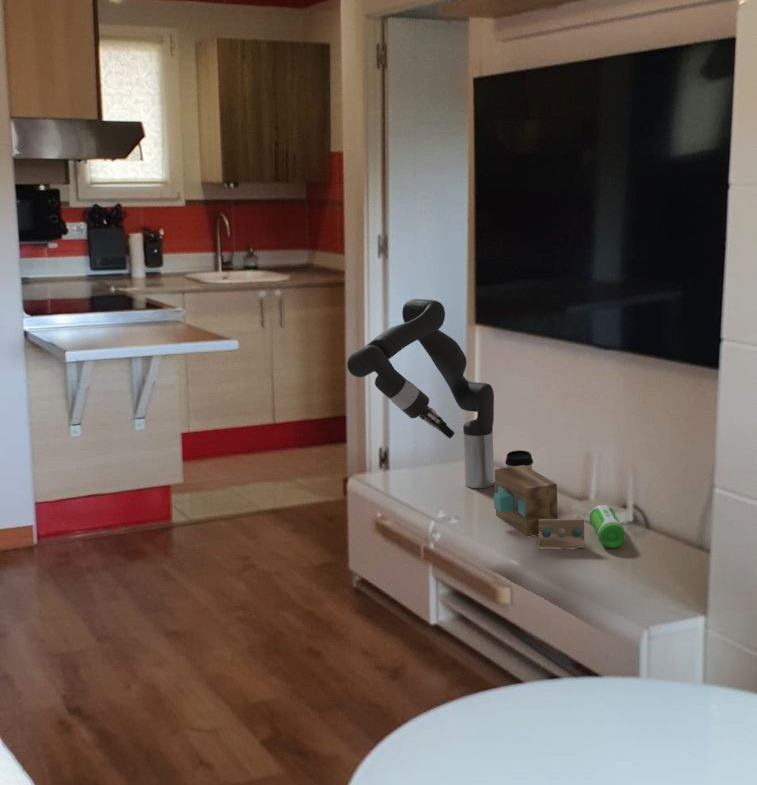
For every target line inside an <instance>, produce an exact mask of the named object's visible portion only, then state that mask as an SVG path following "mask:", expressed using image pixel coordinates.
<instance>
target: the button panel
mask: <svg viewBox="0 0 757 785" xmlns="http://www.w3.org/2000/svg"><path fill="white" fill-rule="evenodd" d="M497 485H499V486H501V487H502V488H503V491H504V492H506V491H509V492H510V493H512V494H513V495H514V510H513V511H507V512H499V511H498V510H496V509H495V516H497V517H498V518H499V519H500V520H502V521H504V523H506V524H508V526H511V527H512V528H514V529H515V530H517V531H518V532H519V533H520V532H521V534H522V535H523V534H524V535H523V536H524V537H526V536H531V537H533V536H532V535H536V536H539V535H538V534H539V519H559V518H558V516H559V515H558V483H556V482H554V481H552V480H551V479H549V478H548V477H546V476H545V475H543V474H540V473H539V472H537V471H535V470H534V469H533V468H532V469H530V468H528V467H527V466H525V465H521V466H514V467H508V468H507V467H503V468H494V493H498V486H497ZM518 498H519V499H521V500H523V501H524V505H525V517H523V516H522V515H520V514H519V513H518Z"/></svg>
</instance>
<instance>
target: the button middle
mask: <svg viewBox="0 0 757 785" xmlns="http://www.w3.org/2000/svg"><path fill="white" fill-rule="evenodd" d="M493 504H494V509H495V511H496V510H498V511H499V512H507V511H513V510H514V495H513V494H512V493H510V492H509V491H506V492H499V493H495V492H494V493H493Z"/></svg>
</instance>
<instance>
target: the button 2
mask: <svg viewBox="0 0 757 785" xmlns="http://www.w3.org/2000/svg"><path fill="white" fill-rule="evenodd" d="M518 513H519V514H520V515H522V516H523V517H525V505H524V501H523V500H521V499H519V498H518Z"/></svg>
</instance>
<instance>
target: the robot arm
mask: <svg viewBox="0 0 757 785" xmlns="http://www.w3.org/2000/svg"><path fill="white" fill-rule="evenodd" d="M401 314H402V319H403V323H400V324H397V325H395V326H394V325H393V326H392V327H389V328H387V329H386V330H384V331H383V332H381V333H380V334H379V335H376V337H374V338H373V340H371V341H370V342H369V343H367V344H366V345H364V346H362V347H361V348H359V349H357V350H356V351H355V352H353V353H351V355H350V356H349V357H348V358H347V364H346V367H347V370H348V372H349V373H350V374H351V375H352V376H353V377H356V378H363V377H366V376H368V375H370V374H372V373H374V372H375V373H376V375H377V376H376V377H375V379H374V380H375V381H374V384H375V387H376V388H377V390H379V391H380V392H381V393H382V394H384V395H385V396H386V397H387V398H388V399H389V400H390V401H391V402H392V404H394V405H395V406H396V407H398V409H400V410H401V411H402V412H403V413H404V414H405V415H407V416H408V417H409V418H410V419H415V418H419V419H420V420H422V421H423V422H425V423H427V425H429V426H431V427H432V428H434V429H435V428H436V429H435V430H438V431H439V432H441V433H442V434H443V435H444V436H445V437H447V438H448V439H452V437H453V436H454V435H455V431H454V430H452V428H450V427H449V426H448V423H447V422H445V420H443V418H442V417H441V416H440V415H439V414H438V413H437V411H436V410H435V409H433V408H432V407H430V406H429V404H430V398H429V396H428V395H427V394H425V393H424V392H423V391H422V390H421V389H420V388H419V387H417V386H416V385H415V384H414V383H412V382H411V381H409V380H408V379H407V378H405V377H404V376H403V375H402V374H401V373H400V372H398V371H397V370H396V369H395V368H394V366H393V364H392V362H391V360H390V359H391V358H393V357H394V356H395V355H396V354H398V353H399V352H401V351H402V350H403V349H404V348H406V347H408V346H410V345H412V343H415V342H417V341H418V342H419V343H420V344H421V346H422V347H423V348H424V350H425V352H426V353H427V355H428V356H429V357H430V358H431V360H432V362H433V364H434V366H435V367H436V369H437V370H438V371H439V373H440V375H441V376H442V377H443V379H444V381H445V383H446V384H447V385H448V388H449V390H450V392H451V394H452V396H453V398H454V400H455V402H456V404H457V406H458V407H459V408H460V409H462V410H463V411H466V412H473V413H474V412H475V413H477V417H476V419H473V420H469V421H466V422H465V423H464V424H463V427H462V431H463V450H464V452H463V453H464V454H463V455H464V479H465V482H464V483H465V487H468V488H472V489H487V488H490V487H493V486H495V471H494V469H495V465H494V464H495V459H494V438H493V437H494V435H493V432H494V430H493V426H494V420H495V419H494V418H495V415H494V414H495V413H494V409H495V407H494V406H495V394H494V393H495V392H494V388H493V387H492V385H491V384H490V383H486V382H473V381H469V380H468V379H467V378H466V377H465V376H464V374H465V371H466V368H467V362H468V360H467V357H466V355H465V353H464V351H463V350H462V347H460V345H459V343H457V341H456V340H455V339H453V338H452V337H451V336H449V335H447V333H445V332H443V331H441V330H440V329H441V327H442V326H443V324H444V322H445V321H446V320H445V319H446V310H445V306H444V305H443V303H441V302H440V301H438V300H435V299H434V300H433V299H426V298H425V299H422V298H413V299H409V300H408V301H406V302H405V303H404V304H403V307H402V312H401Z"/></svg>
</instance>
